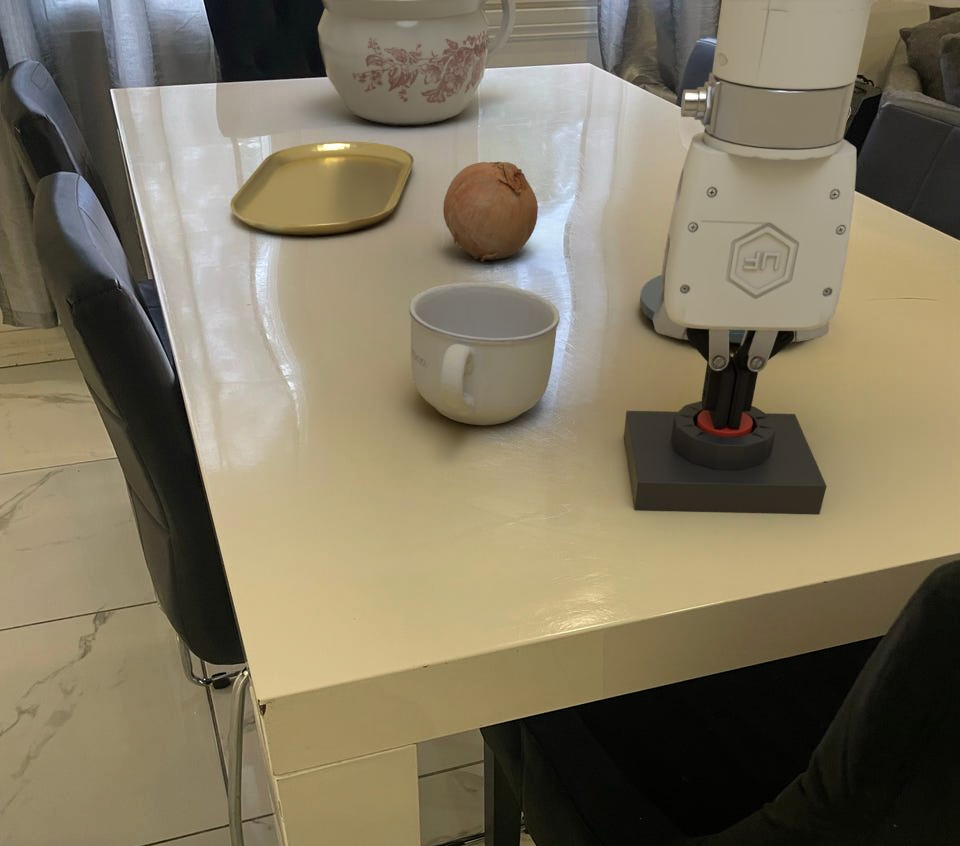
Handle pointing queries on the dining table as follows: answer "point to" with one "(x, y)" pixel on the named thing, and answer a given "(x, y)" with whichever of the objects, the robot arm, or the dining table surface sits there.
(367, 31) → the chamber pot
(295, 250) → the dining table surface
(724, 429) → the button
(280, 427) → the dining table surface
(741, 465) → the button box
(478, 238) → the onion
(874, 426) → the dining table surface
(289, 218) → the serving platter
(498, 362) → the teacup
